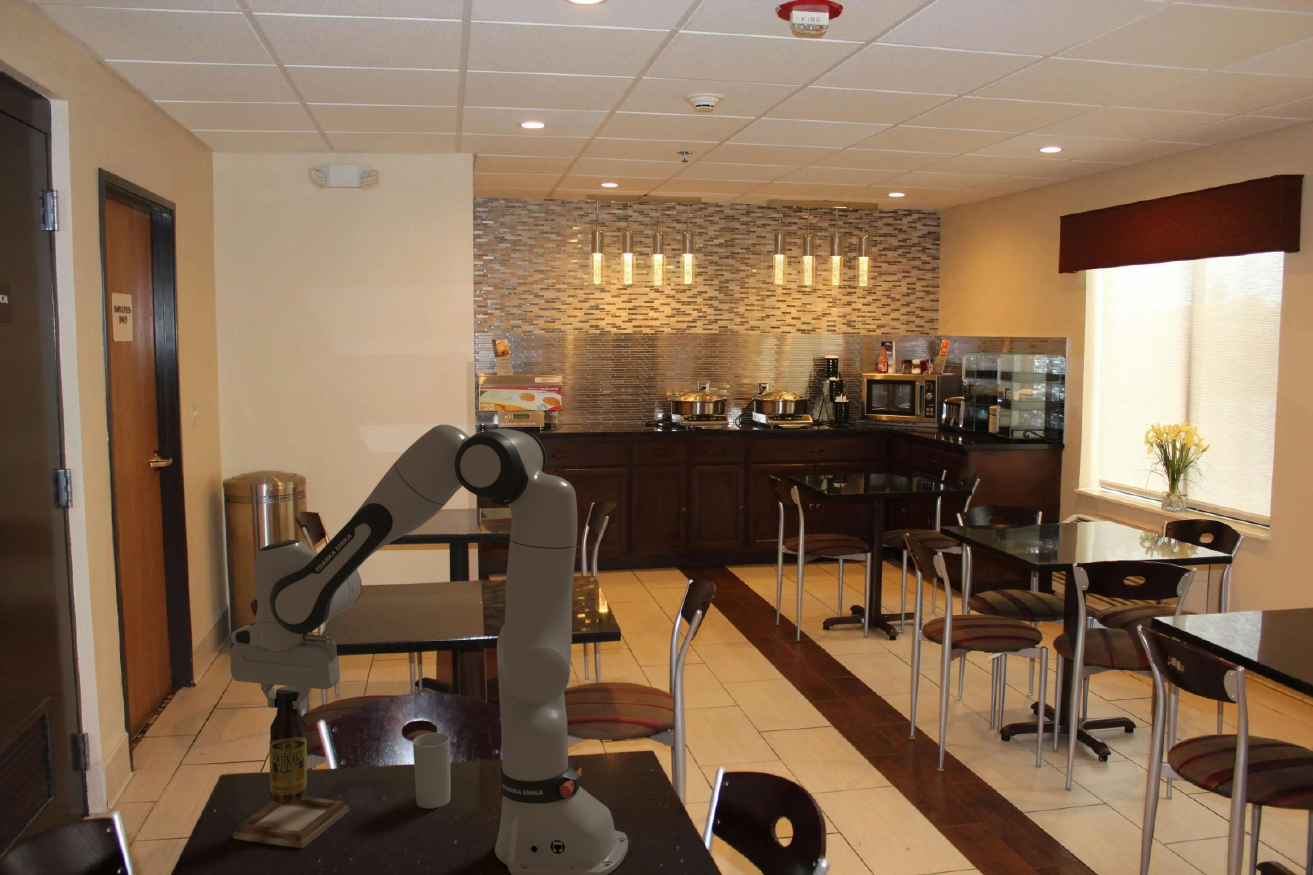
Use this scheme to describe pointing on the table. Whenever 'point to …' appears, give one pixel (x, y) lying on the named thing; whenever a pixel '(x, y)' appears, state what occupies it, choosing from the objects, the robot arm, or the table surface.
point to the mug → (432, 769)
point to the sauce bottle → (288, 749)
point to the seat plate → (291, 822)
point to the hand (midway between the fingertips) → (287, 708)
